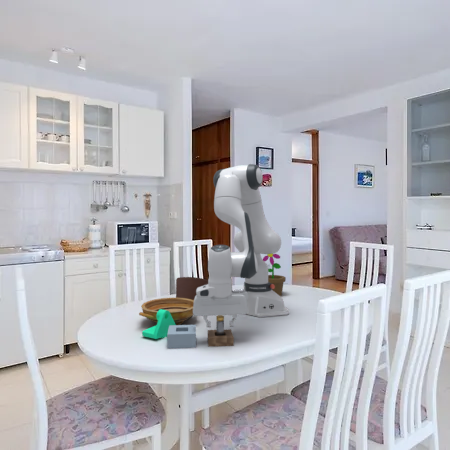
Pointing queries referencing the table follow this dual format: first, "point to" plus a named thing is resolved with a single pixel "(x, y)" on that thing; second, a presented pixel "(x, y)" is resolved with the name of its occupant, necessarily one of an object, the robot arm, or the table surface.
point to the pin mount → (220, 338)
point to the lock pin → (219, 325)
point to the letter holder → (188, 286)
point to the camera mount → (160, 325)
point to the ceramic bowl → (169, 308)
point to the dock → (181, 336)
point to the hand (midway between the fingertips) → (220, 326)
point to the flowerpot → (275, 279)
